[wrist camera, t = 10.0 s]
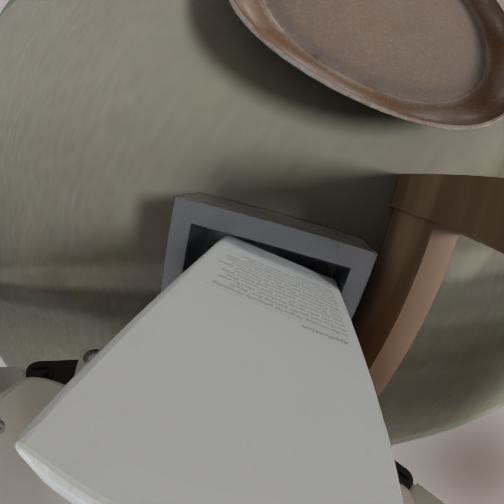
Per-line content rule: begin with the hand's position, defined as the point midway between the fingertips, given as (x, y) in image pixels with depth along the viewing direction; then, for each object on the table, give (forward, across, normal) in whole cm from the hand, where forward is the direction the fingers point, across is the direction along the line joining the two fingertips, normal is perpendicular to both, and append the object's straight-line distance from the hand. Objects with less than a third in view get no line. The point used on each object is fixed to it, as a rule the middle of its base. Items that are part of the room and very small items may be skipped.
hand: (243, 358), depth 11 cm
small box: (+4, 0, 0) cm, 4 cm away
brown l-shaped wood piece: (+5, -7, 0) cm, 9 cm away
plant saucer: (+6, -3, -22) cm, 23 cm away
